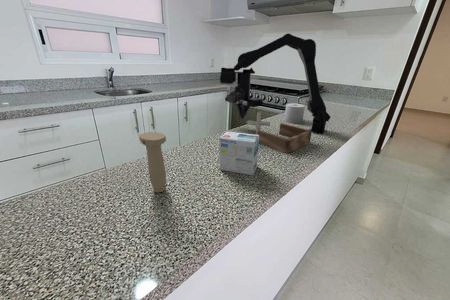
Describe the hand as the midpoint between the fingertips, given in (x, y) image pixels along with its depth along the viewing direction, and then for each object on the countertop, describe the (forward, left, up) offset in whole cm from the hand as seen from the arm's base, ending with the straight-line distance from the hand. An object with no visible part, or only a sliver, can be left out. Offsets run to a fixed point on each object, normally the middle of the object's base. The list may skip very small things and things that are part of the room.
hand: (242, 118), depth 100 cm
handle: (+53, +22, -5) cm, 58 cm away
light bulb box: (+29, +27, -5) cm, 40 cm away
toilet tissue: (-32, +8, -5) cm, 34 cm away
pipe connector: (0, +10, -5) cm, 11 cm away
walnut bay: (0, +23, -5) cm, 24 cm away
